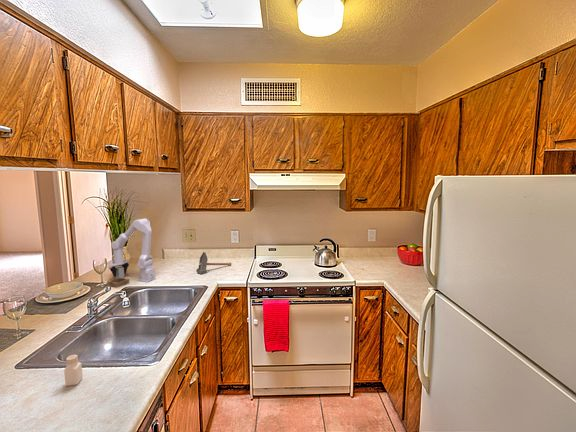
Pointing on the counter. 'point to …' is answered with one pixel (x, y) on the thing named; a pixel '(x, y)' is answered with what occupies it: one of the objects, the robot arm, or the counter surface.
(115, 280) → the frame
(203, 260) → the hammer
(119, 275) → the slate peg
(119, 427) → the counter surface
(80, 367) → the salt shaker
